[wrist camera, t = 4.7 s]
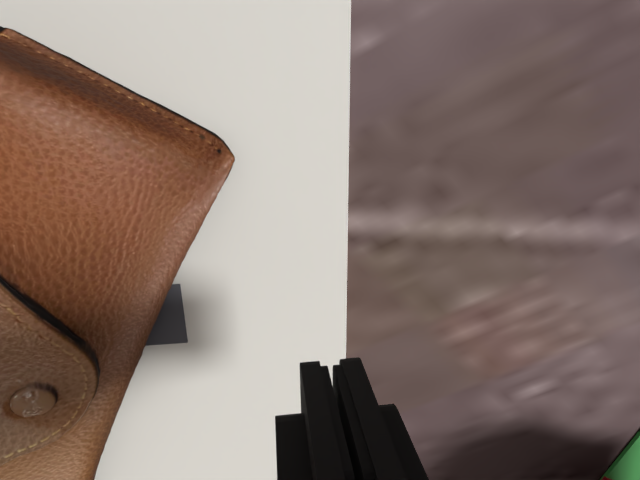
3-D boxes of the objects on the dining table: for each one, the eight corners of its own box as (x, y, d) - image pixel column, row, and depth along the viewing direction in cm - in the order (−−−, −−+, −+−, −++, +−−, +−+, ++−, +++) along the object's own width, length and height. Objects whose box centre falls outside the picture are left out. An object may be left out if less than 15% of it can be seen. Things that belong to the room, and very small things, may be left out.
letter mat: (350, -32, 12) (351, -34, 12) (343, 511, 19) (343, 514, 19) (-563, -55, 10) (-574, -57, 10) (-183, 573, 17) (-187, 577, 17)
